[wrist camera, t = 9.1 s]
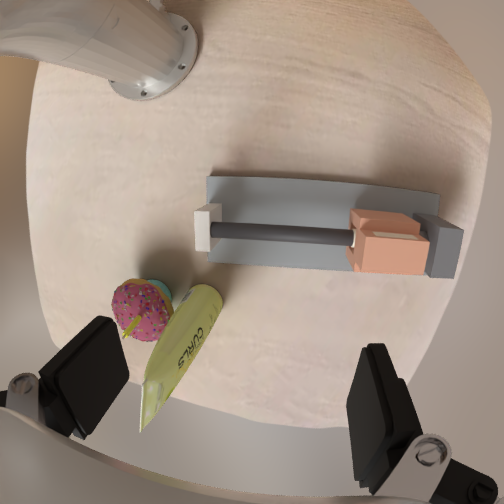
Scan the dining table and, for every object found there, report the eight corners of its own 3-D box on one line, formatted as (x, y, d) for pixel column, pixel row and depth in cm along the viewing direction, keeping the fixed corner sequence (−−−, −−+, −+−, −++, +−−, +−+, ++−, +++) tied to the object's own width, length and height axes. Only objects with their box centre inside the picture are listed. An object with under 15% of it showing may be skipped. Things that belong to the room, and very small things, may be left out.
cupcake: (158, 255, 36) (108, 296, 25) (197, 307, 38) (162, 363, 26) (119, 284, 39) (70, 326, 27) (155, 330, 40) (116, 382, 29)
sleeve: (345, 254, 30) (359, 282, 23) (350, 208, 29) (367, 224, 21) (395, 257, 29) (420, 285, 22) (402, 213, 28) (431, 230, 21)
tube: (232, 315, 37) (184, 433, 19) (199, 324, 39) (139, 434, 20) (212, 277, 36) (142, 384, 18) (179, 289, 37) (99, 388, 19)
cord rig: (210, 259, 35) (188, 286, 28) (209, 176, 32) (183, 181, 25) (423, 272, 32) (451, 301, 24) (436, 193, 29) (471, 205, 21)
